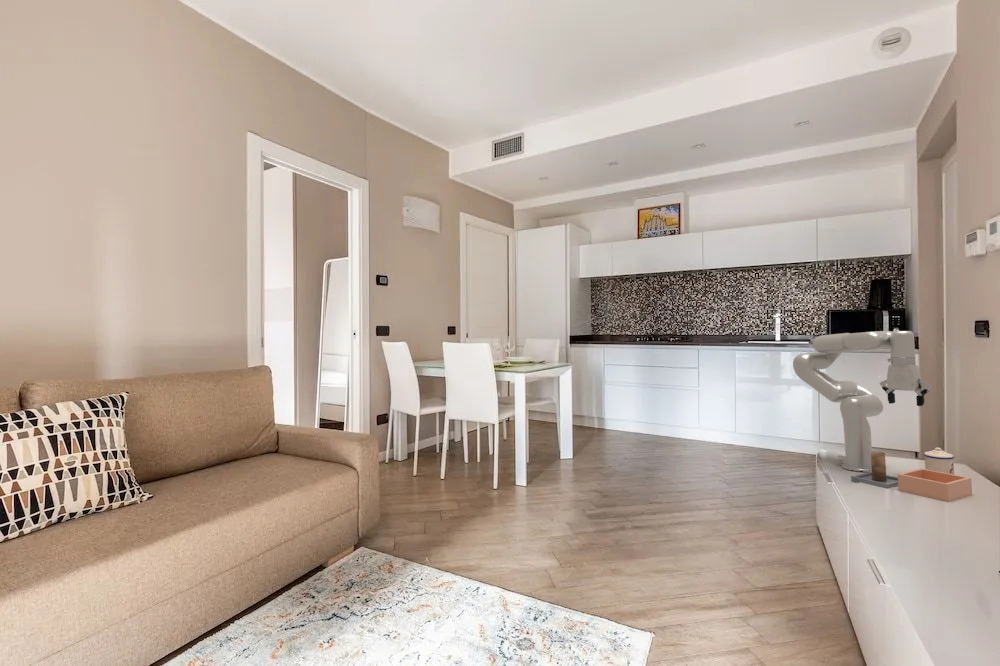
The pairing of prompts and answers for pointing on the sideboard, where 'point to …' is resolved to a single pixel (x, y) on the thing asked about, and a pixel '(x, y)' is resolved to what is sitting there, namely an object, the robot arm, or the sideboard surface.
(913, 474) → the terracotta open box
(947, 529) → the sideboard surface
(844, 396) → the robot arm
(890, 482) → the grey tray
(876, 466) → the walnut dowel
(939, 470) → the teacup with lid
